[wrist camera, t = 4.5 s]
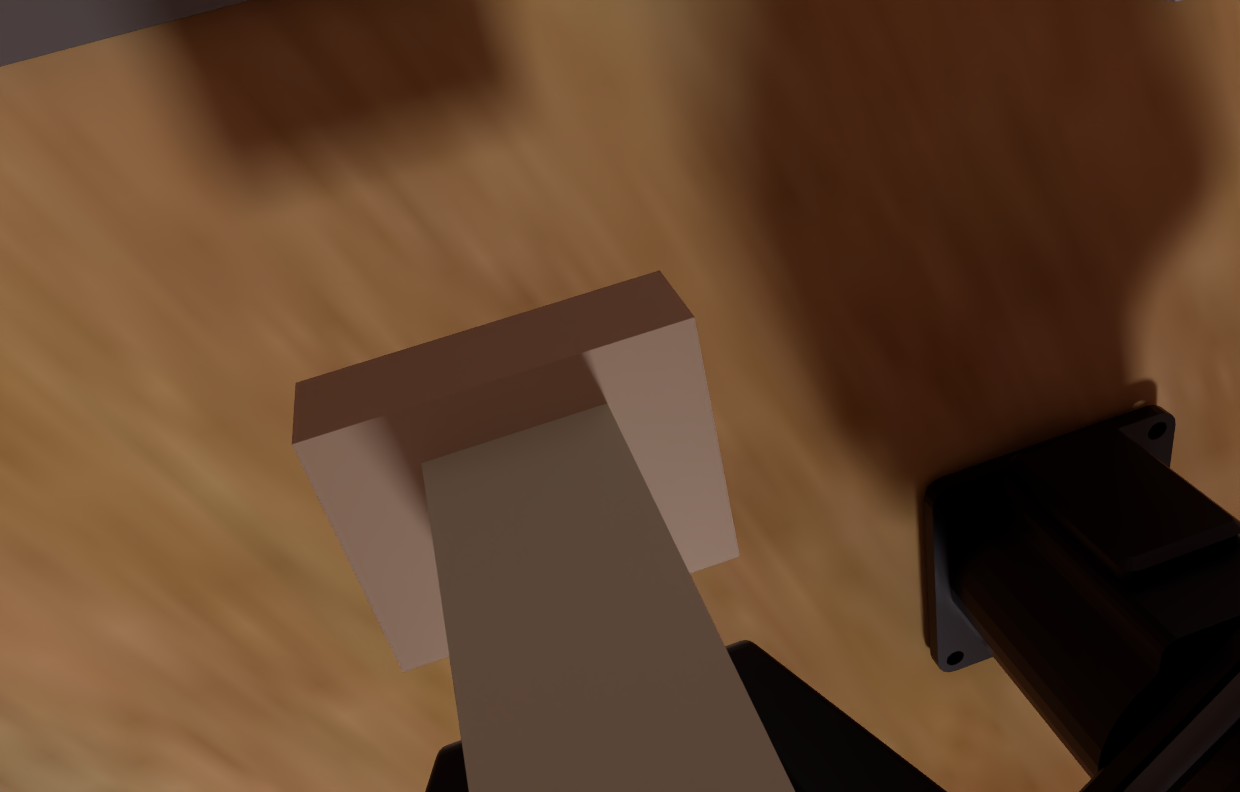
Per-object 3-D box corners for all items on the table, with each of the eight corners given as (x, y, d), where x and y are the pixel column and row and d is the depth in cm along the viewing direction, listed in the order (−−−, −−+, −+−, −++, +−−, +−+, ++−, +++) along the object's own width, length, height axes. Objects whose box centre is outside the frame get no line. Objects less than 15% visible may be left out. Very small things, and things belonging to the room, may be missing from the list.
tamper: (705, 496, 15) (1216, 1400, 6) (397, 600, 15) (497, 1740, 6) (659, 270, 13) (1331, 1170, 4) (295, 383, 13) (218, 1665, 4)
